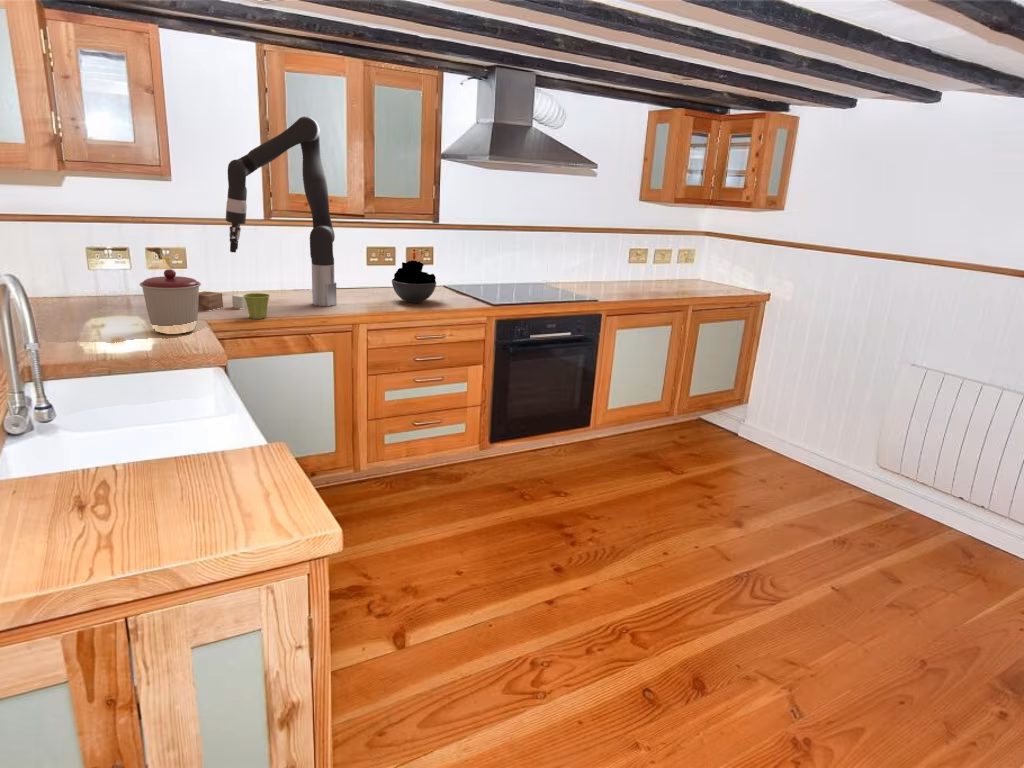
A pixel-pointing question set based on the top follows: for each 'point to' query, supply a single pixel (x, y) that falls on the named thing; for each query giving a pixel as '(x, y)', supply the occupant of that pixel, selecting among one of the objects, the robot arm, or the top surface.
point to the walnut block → (210, 300)
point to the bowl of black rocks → (413, 282)
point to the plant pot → (257, 305)
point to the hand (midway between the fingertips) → (233, 250)
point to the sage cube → (239, 301)
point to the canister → (171, 299)
